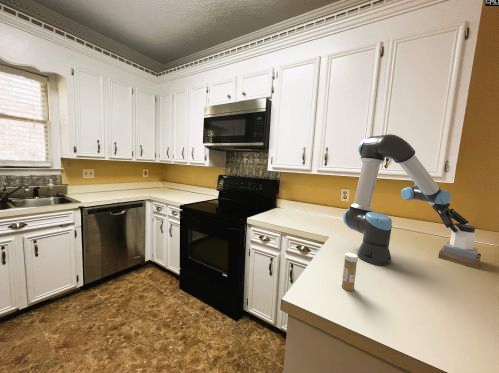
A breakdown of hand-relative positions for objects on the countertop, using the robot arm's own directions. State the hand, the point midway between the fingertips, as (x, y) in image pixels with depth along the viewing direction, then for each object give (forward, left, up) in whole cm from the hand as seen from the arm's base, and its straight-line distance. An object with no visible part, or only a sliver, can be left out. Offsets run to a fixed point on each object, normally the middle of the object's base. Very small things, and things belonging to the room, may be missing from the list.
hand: (468, 236), depth 111 cm
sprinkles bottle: (-74, -37, -14) cm, 84 cm away
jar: (-1, +2, -7) cm, 7 cm away
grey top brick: (-1, +2, -10) cm, 10 cm away
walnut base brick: (-1, +2, -14) cm, 14 cm away
